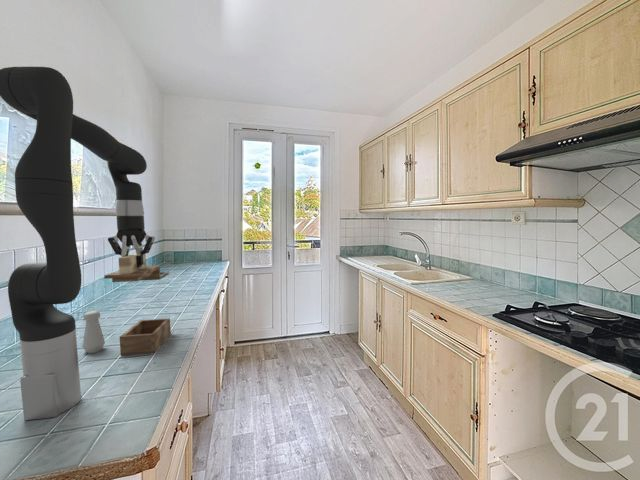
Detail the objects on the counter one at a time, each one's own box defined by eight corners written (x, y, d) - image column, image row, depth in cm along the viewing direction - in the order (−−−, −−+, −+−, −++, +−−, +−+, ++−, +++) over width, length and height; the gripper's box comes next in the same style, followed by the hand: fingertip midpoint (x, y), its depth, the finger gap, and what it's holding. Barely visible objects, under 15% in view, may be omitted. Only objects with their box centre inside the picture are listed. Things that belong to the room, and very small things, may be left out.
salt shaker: (93, 355, 92) (90, 315, 91) (78, 354, 93) (75, 314, 92) (109, 347, 97) (107, 309, 96) (95, 346, 99) (92, 308, 98)
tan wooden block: (141, 289, 90) (139, 257, 89) (105, 291, 88) (103, 259, 88) (168, 274, 115) (167, 249, 114) (141, 275, 113) (139, 250, 113)
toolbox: (155, 352, 93) (154, 334, 93) (120, 355, 92) (119, 336, 91) (170, 334, 108) (169, 318, 107) (141, 336, 106) (140, 320, 106)
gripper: (99, 214, 90) (103, 269, 91) (149, 214, 92) (152, 268, 94) (112, 215, 97) (116, 266, 99) (157, 214, 100) (160, 264, 101)
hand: (133, 266), depth 96 cm, fingers closed on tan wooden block, 3 cm apart
